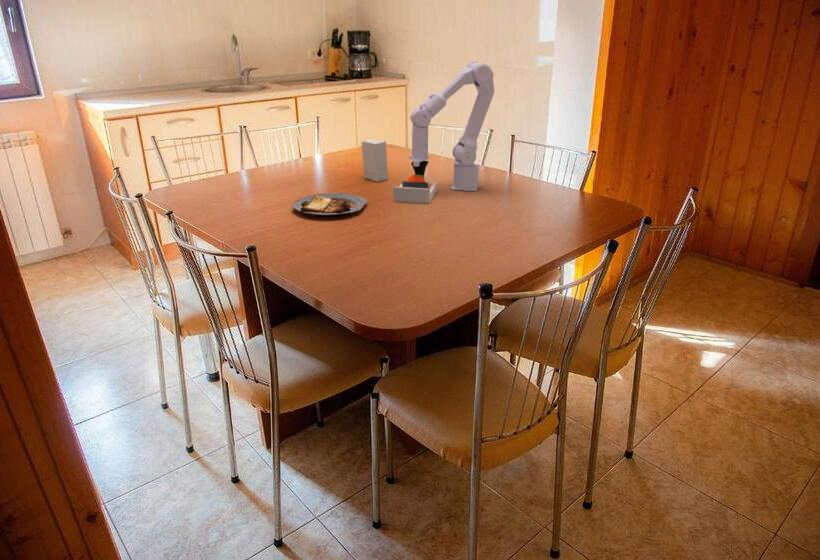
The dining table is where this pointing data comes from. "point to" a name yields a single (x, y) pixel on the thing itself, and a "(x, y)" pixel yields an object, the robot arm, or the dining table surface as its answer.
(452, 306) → the dining table surface
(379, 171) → the skincare box
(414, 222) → the dining table surface
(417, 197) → the grey open tray
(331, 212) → the food plate
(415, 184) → the block
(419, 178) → the clementine
